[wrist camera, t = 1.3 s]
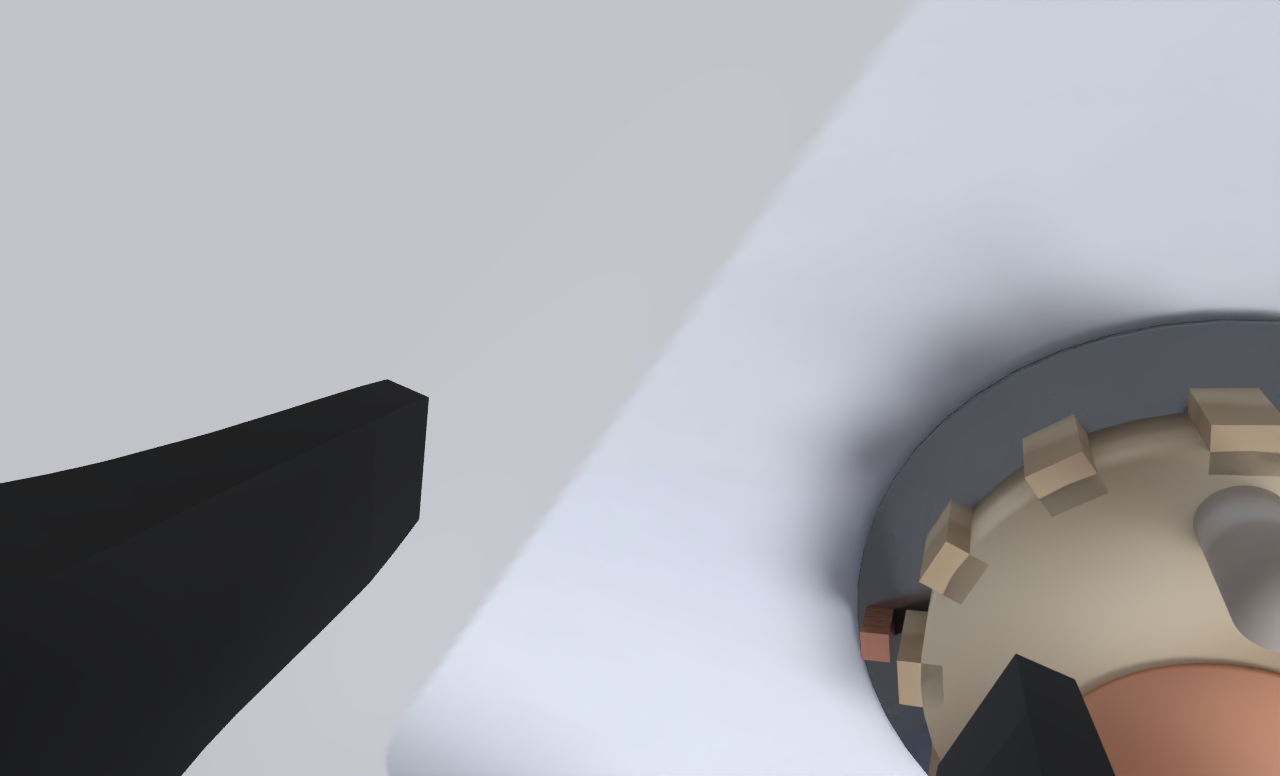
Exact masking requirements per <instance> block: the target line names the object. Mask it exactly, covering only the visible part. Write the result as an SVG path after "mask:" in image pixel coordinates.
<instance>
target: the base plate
mask: <svg viewBox="0 0 1280 776" xmlns="http://www.w3.org/2000/svg"><path fill="white" fill-rule="evenodd" d="M1189 388H1259V389H1260V390H1261V391H1262V393H1263V394H1264V395H1265V396H1266V397H1267V398H1268V400H1269V401H1270V402H1271V403H1272V404H1273V405H1274V407H1275V408H1276V409H1277V410H1278V411H1279V413H1280V321H1272V320H1210V321H1199V322H1188V323H1176V324H1165V325H1159V326H1154V327H1149V328H1144V329H1139V330H1134V331H1129V332H1124V333H1119V334H1114V335H1109V336H1106V337H1103V338H1100V339H1096V340H1093V341H1090V342H1087V343H1084V344H1081V345H1078V346H1074V347H1071V348H1068V349H1065V350H1062V351H1059V352H1057V353H1055V354H1052V355H1050V356H1048V357H1046V358H1043V359H1041V360H1039V361H1037V362H1035V363H1032V364H1030V365H1028V366H1026V367H1023V368H1021V369H1019V370H1017V371H1015V372H1013V373H1011V374H1010V375H1008V376H1006V377H1005V378H1003V379H1001V380H1000V381H998V382H996V383H995V384H993V385H992V386H990V387H988V388H987V389H985V390H983V391H982V392H980V393H978V394H977V395H975V396H974V397H973V398H971V399H970V400H969V401H968V402H966V403H965V404H964V405H963V406H961V407H960V408H959V409H958V410H956V411H955V412H954V413H953V414H951V415H950V416H949V417H947V418H946V419H945V420H944V421H942V422H941V424H940V425H939V426H938V427H937V428H936V429H935V430H934V431H933V432H932V433H931V434H930V435H929V436H928V437H927V438H926V439H925V440H924V441H923V442H922V443H921V444H920V445H919V446H918V447H917V449H916V450H915V451H914V452H913V453H912V455H911V456H910V458H909V459H908V460H907V462H906V463H905V465H904V466H903V467H902V469H901V470H900V472H899V473H898V474H897V476H896V477H895V479H894V480H893V481H892V483H891V485H890V487H889V489H888V491H887V493H886V495H885V497H884V499H883V501H882V503H881V505H880V507H879V509H878V511H877V513H876V515H875V518H874V521H873V524H872V527H871V530H870V533H869V536H868V539H867V542H866V545H865V549H864V552H863V558H862V564H861V570H860V576H859V583H858V624H859V631H860V643H861V657H862V659H864V660H865V662H866V665H867V669H868V672H869V675H870V679H871V682H872V685H873V687H874V690H875V692H876V694H877V696H878V698H879V701H880V703H881V705H882V707H883V710H884V712H885V714H886V716H887V718H888V719H889V721H890V723H891V724H892V726H893V728H894V729H895V731H896V732H897V734H898V736H899V737H900V739H901V741H902V742H903V744H904V745H905V747H906V748H907V749H908V751H909V752H910V753H911V755H912V756H913V757H914V758H915V760H916V761H917V762H918V763H919V765H920V766H921V767H922V768H923V770H924V771H925V772H926V774H927V775H928V776H929V768H930V758H931V749H932V740H931V737H930V733H929V730H928V726H927V723H926V719H925V716H924V710H923V707H917V706H910V705H903V704H899V690H898V672H897V657H898V652H899V647H900V641H901V636H902V631H903V625H904V620H905V615H906V610H915V611H926V612H928V608H929V602H930V597H931V592H932V589H931V588H930V587H928V586H926V585H924V584H922V583H921V582H919V578H920V572H921V566H922V561H923V555H924V549H925V543H926V538H927V535H928V533H929V532H930V530H931V529H932V527H933V526H934V524H935V523H936V521H937V520H938V518H939V517H940V515H941V514H942V512H943V511H944V509H945V508H946V506H947V504H948V503H949V501H950V500H951V499H953V500H955V501H957V502H959V503H961V504H963V505H965V506H967V507H969V508H970V509H972V510H973V508H974V507H975V506H976V505H977V504H978V503H979V502H980V501H981V500H982V499H983V498H984V497H985V496H986V495H987V494H988V493H989V492H990V491H991V490H992V489H993V488H994V487H996V486H997V485H998V484H999V483H1000V482H1001V481H1002V480H1004V479H1005V478H1007V477H1008V476H1009V475H1011V474H1012V473H1014V472H1015V471H1016V470H1018V469H1019V468H1020V467H1022V466H1023V465H1024V460H1023V440H1022V439H1023V438H1025V437H1027V436H1029V435H1031V434H1033V433H1035V432H1037V431H1039V430H1042V429H1044V428H1046V427H1048V426H1050V425H1052V424H1054V423H1056V422H1058V421H1060V420H1062V419H1064V418H1067V417H1069V416H1071V415H1073V414H1074V415H1075V416H1076V418H1077V419H1078V421H1079V422H1080V424H1081V425H1082V427H1083V428H1084V430H1085V431H1086V432H1087V434H1088V433H1091V432H1093V431H1096V430H1100V429H1103V428H1107V427H1111V426H1114V425H1118V424H1122V423H1126V422H1129V421H1133V420H1138V419H1144V418H1150V417H1157V416H1163V415H1169V414H1176V413H1188V396H1189Z"/></svg>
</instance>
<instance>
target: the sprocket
mask: <svg viewBox="0 0 1280 776" xmlns="http://www.w3.org/2000/svg"><path fill="white" fill-rule="evenodd" d="M1022 440H1023V460H1024V465H1023V466H1022V467H1020V468H1019V469H1018V470H1016V471H1015V472H1014V473H1012V474H1011V475H1009V476H1008V477H1007V478H1005V479H1004V480H1002V481H1001V482H1000V483H999V484H998V485H997V486H996V487H994V488H993V489H992V490H991V491H990V492H989V493H988V494H987V495H986V496H985V497H984V498H983V499H982V500H981V501H980V502H979V503H978V504H977V505H976V506H975V507H974V508H973V510H972V509H970V508H969V507H967V506H965V505H963V504H961V503H959V502H957V501H955V500H953V499H951V500H950V501H949V503H948V504H947V506H946V508H945V509H944V511H943V512H942V514H941V515H940V517H939V518H938V520H937V521H936V523H935V524H934V526H933V527H932V529H931V530H930V532H929V533H928V535H927V538H926V543H925V549H924V555H923V561H922V566H921V572H920V578H919V582H921V583H922V584H924V585H926V586H928V587H930V588H931V589H932V592H931V597H930V602H929V608H928V612H926V611H915V610H906V615H905V620H904V625H903V631H902V636H901V641H900V647H899V652H898V657H897V672H898V690H899V704H903V705H910V706H917V707H923V710H924V716H925V719H926V723H927V726H928V730H929V733H930V737H931V740H932V749H931V758H930V768H929V776H936V772H937V767H938V765H939V763H940V762H941V760H942V759H943V757H944V756H945V754H946V753H947V752H948V750H949V749H950V747H951V746H952V744H953V743H954V741H955V740H956V739H957V737H958V736H959V734H960V733H961V731H962V730H963V729H964V727H965V726H966V724H967V723H968V721H969V720H970V718H971V717H972V716H973V714H974V713H975V711H976V710H977V708H978V707H979V705H980V704H981V703H982V701H983V700H984V698H985V697H986V695H987V694H988V693H989V691H990V690H991V688H992V687H993V685H994V684H995V682H996V681H997V680H998V678H999V677H1000V675H1001V674H1002V672H1003V671H1004V669H1005V668H1006V667H1007V665H1008V664H1009V662H1010V661H1011V659H1012V658H1013V657H1014V655H1015V654H1018V655H1020V656H1023V657H1025V658H1027V659H1030V660H1032V661H1034V662H1036V663H1039V664H1041V665H1043V666H1046V667H1048V668H1050V669H1053V670H1055V671H1057V672H1059V673H1062V674H1064V675H1066V676H1069V677H1071V678H1073V679H1075V680H1076V683H1077V685H1078V687H1079V690H1080V692H1081V694H1082V697H1083V699H1084V701H1085V704H1086V706H1087V708H1088V711H1089V713H1090V715H1091V718H1092V720H1093V723H1094V725H1095V727H1096V730H1097V732H1098V735H1099V737H1100V739H1101V742H1102V744H1103V747H1104V749H1105V751H1106V754H1107V756H1108V758H1109V761H1110V763H1111V766H1112V768H1113V770H1114V773H1115V775H1116V776H1280V413H1279V411H1278V410H1277V409H1276V408H1275V407H1274V405H1273V404H1272V403H1271V402H1270V401H1269V400H1268V398H1267V397H1266V396H1265V395H1264V394H1263V393H1262V391H1261V390H1260V389H1259V388H1189V396H1188V413H1176V414H1169V415H1163V416H1157V417H1150V418H1144V419H1138V420H1133V421H1129V422H1126V423H1122V424H1118V425H1114V426H1111V427H1107V428H1103V429H1100V430H1096V431H1093V432H1091V433H1088V434H1087V432H1086V431H1085V430H1084V428H1083V427H1082V425H1081V424H1080V422H1079V421H1078V419H1077V418H1076V416H1075V415H1074V414H1073V415H1071V416H1069V417H1067V418H1064V419H1062V420H1060V421H1058V422H1056V423H1054V424H1052V425H1050V426H1048V427H1046V428H1044V429H1042V430H1039V431H1037V432H1035V433H1033V434H1031V435H1029V436H1027V437H1025V438H1023V439H1022Z"/></svg>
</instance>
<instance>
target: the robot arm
mask: <svg viewBox="0 0 1280 776" xmlns="http://www.w3.org/2000/svg"><path fill="white" fill-rule="evenodd" d="M428 402H429V397H427V396H425V395H422V394H420V393H418V392H415V391H413V390H411V389H409V388H406V387H404V386H402V385H399V384H397V383H395V382H392V381H390V380H388V379H387V380H383V381H379V382H375V383H372V384H368V385H364V386H360V387H357V388H354V389H351V390H347V391H344V392H341V393H337V394H335V395H331V396H328V397H325V398H321V399H318V400H315V401H312V402H309V403H306V404H302V405H300V406H296V407H293V408H290V409H287V410H283V411H280V412H277V413H274V414H271V415H267V416H264V417H261V418H258V419H254V420H251V421H248V422H244V423H241V424H238V425H235V426H231V427H228V428H225V429H222V430H218V431H215V432H212V433H208V434H205V435H201V436H197V437H194V438H190V439H187V440H183V441H179V442H175V443H171V444H168V445H164V446H160V447H157V448H153V449H149V450H145V451H142V452H138V453H134V454H131V455H127V456H123V457H120V458H116V459H112V460H108V461H104V462H100V463H96V464H91V465H87V466H83V467H79V468H74V469H69V470H65V471H60V472H56V473H51V474H46V475H41V476H36V477H31V478H26V479H21V480H15V481H10V482H5V483H0V776H181V775H182V774H183V773H184V772H185V771H186V769H187V768H188V767H189V766H190V765H191V764H192V762H193V761H194V760H195V759H196V758H197V756H198V755H199V754H200V753H201V752H202V751H203V749H204V748H205V747H206V746H207V745H208V744H209V743H210V742H211V741H212V740H213V739H214V738H215V736H216V735H217V734H218V733H219V732H220V731H221V730H222V729H223V728H224V727H225V726H226V725H227V724H228V723H229V722H230V720H231V719H232V718H233V717H234V716H235V715H236V714H237V713H238V712H239V711H240V710H241V709H242V708H243V707H244V706H245V705H246V704H247V703H248V702H249V701H250V700H252V698H253V697H255V696H256V695H257V694H258V693H259V692H260V691H261V690H262V689H263V688H264V687H265V686H266V685H267V684H268V683H269V682H270V681H271V680H272V679H273V678H274V677H275V676H276V675H277V674H278V673H279V672H280V671H281V670H282V669H283V668H284V667H285V666H286V665H287V664H288V663H289V662H290V661H291V660H292V659H293V658H294V657H295V656H296V655H297V654H298V653H299V652H300V651H301V650H303V649H304V647H306V646H307V645H308V643H310V642H311V641H312V639H314V638H315V637H316V636H317V635H318V634H319V633H320V632H321V631H322V630H323V629H324V628H325V627H326V626H327V625H328V624H329V623H330V622H331V621H332V620H333V619H334V618H335V617H336V616H337V615H338V614H339V613H340V612H341V611H342V610H343V609H344V608H345V607H346V606H347V605H348V604H349V603H350V602H351V601H352V600H353V599H354V598H355V597H356V596H357V595H358V594H359V593H360V592H361V591H362V590H363V589H364V588H365V587H366V586H367V585H368V584H369V583H370V582H371V580H372V579H373V578H374V577H375V575H376V574H377V573H378V572H379V570H380V569H381V568H382V566H384V564H385V563H386V562H387V561H388V559H389V558H390V557H391V556H392V554H393V553H394V552H395V550H396V549H397V548H398V546H399V545H400V543H402V541H403V540H404V539H405V537H406V536H407V535H408V533H409V532H410V531H411V529H412V528H413V527H414V525H415V524H416V523H417V521H418V520H419V514H420V502H421V489H422V477H423V463H424V451H425V439H426V426H427V414H428ZM936 776H1116V775H1115V773H1114V770H1113V768H1112V766H1111V763H1110V761H1109V758H1108V756H1107V754H1106V751H1105V749H1104V747H1103V744H1102V742H1101V739H1100V737H1099V735H1098V732H1097V730H1096V727H1095V725H1094V723H1093V720H1092V718H1091V715H1090V713H1089V711H1088V708H1087V706H1086V704H1085V701H1084V699H1083V697H1082V694H1081V692H1080V690H1079V687H1078V685H1077V683H1076V680H1075V679H1073V678H1071V677H1069V676H1066V675H1064V674H1062V673H1059V672H1057V671H1055V670H1053V669H1050V668H1048V667H1046V666H1043V665H1041V664H1039V663H1036V662H1034V661H1032V660H1030V659H1027V658H1025V657H1023V656H1020V655H1018V654H1015V655H1014V657H1013V658H1012V659H1011V661H1010V662H1009V664H1008V665H1007V667H1006V668H1005V669H1004V671H1003V672H1002V674H1001V675H1000V677H999V678H998V680H997V681H996V682H995V684H994V685H993V687H992V688H991V690H990V691H989V693H988V694H987V695H986V697H985V698H984V700H983V701H982V703H981V704H980V705H979V707H978V708H977V710H976V711H975V713H974V714H973V716H972V717H971V718H970V720H969V721H968V723H967V724H966V726H965V727H964V729H963V730H962V731H961V733H960V734H959V736H958V737H957V739H956V740H955V741H954V743H953V744H952V746H951V747H950V749H949V750H948V752H947V753H946V754H945V756H944V757H943V759H942V760H941V762H940V763H939V765H938V767H937V772H936Z"/></svg>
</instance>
